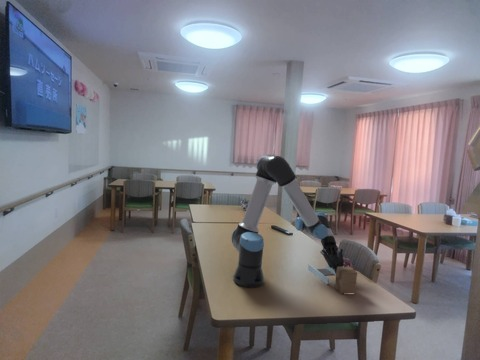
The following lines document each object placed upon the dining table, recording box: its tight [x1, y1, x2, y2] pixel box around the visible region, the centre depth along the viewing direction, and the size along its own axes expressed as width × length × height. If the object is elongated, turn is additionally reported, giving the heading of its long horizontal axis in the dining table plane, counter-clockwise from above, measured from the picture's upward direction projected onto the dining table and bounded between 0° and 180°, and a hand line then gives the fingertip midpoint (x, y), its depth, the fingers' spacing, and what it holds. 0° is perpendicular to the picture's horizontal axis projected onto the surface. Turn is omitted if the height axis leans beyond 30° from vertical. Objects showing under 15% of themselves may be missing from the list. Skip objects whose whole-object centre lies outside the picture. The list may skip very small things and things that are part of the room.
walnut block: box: [334, 266, 358, 294], centre depth 150 cm, size 7×7×11 cm
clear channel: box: [307, 262, 336, 285], centre depth 167 cm, size 20×13×3 cm, turn 17°
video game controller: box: [343, 257, 354, 269], centre depth 182 cm, size 10×5×7 cm, turn 92°
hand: (341, 280), depth 155 cm, fingers closed
